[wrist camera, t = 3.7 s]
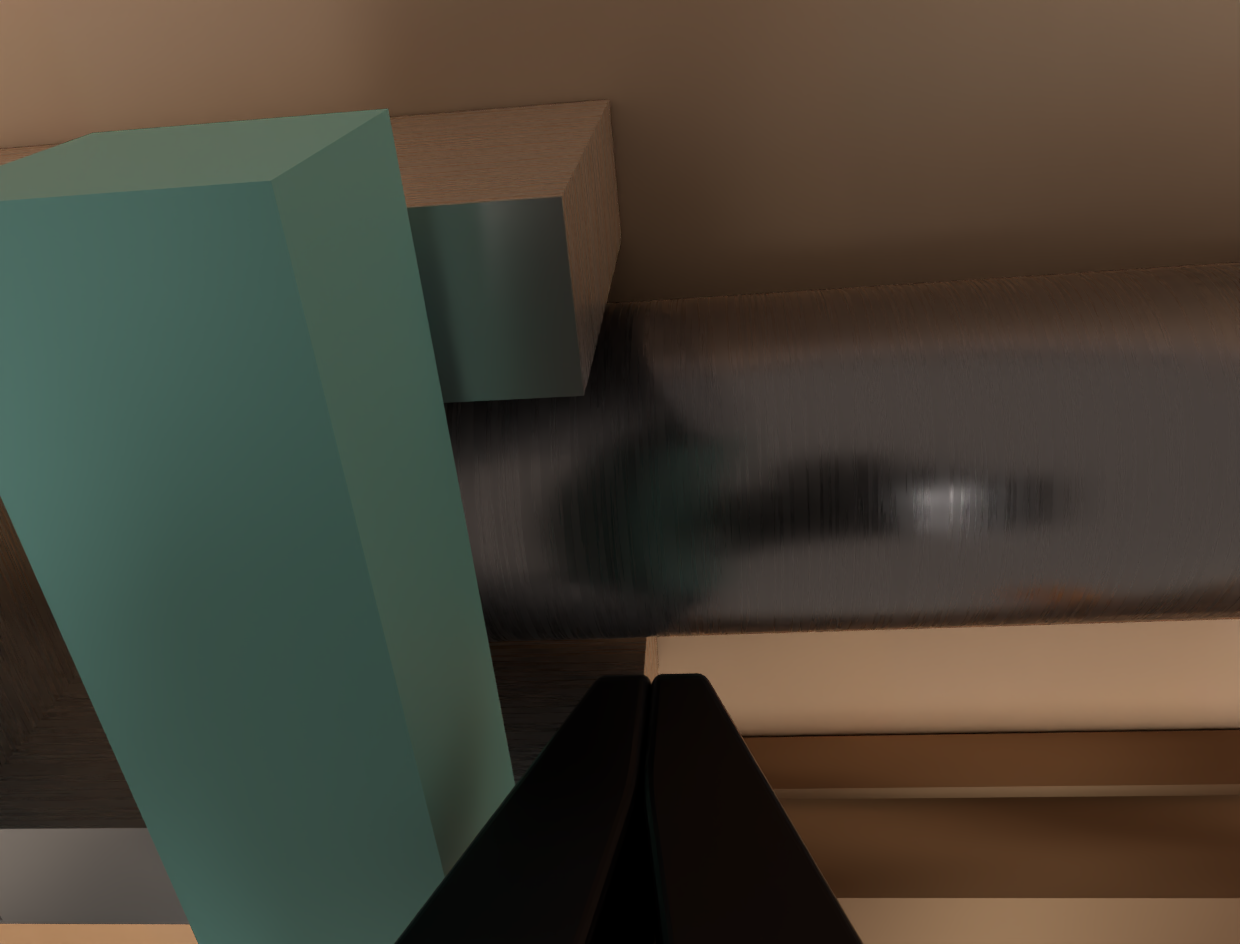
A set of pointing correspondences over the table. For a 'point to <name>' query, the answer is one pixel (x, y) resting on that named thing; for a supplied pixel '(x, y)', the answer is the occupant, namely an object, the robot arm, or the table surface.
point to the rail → (1021, 833)
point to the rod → (872, 462)
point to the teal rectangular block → (252, 513)
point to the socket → (468, 371)
